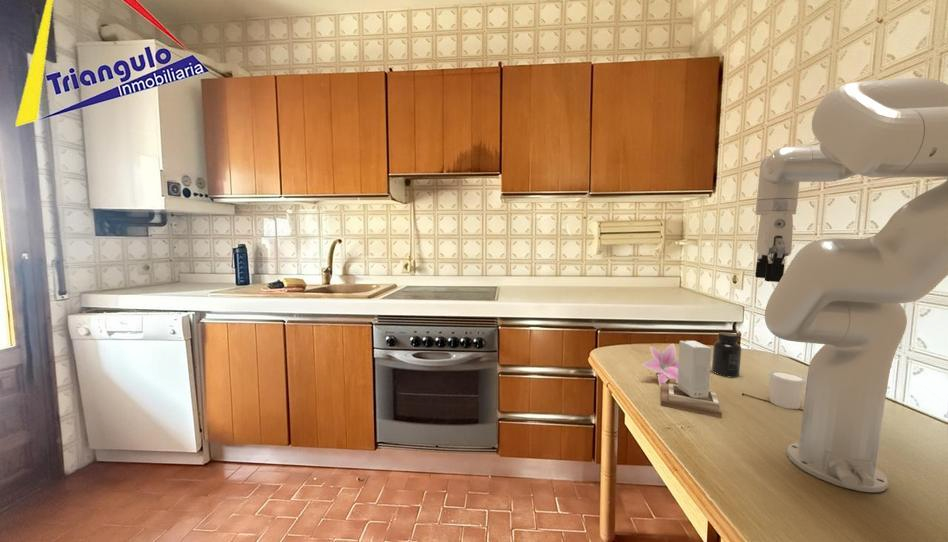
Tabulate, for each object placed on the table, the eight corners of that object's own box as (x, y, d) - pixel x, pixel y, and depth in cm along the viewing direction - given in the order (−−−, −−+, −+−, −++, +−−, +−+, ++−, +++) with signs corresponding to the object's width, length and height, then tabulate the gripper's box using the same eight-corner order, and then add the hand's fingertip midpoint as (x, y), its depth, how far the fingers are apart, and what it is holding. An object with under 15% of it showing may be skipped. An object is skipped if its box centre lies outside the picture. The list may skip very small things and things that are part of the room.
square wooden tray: (721, 418, 82) (722, 404, 82) (661, 405, 87) (662, 392, 87) (714, 396, 93) (715, 384, 93) (661, 386, 98) (662, 375, 98)
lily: (633, 383, 103) (647, 360, 97) (638, 357, 112) (651, 334, 106) (678, 404, 99) (695, 381, 94) (679, 375, 108) (695, 352, 103)
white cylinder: (810, 411, 86) (813, 383, 86) (776, 408, 88) (780, 380, 87) (791, 399, 93) (794, 372, 92) (760, 396, 94) (763, 369, 94)
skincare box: (709, 398, 85) (714, 347, 84) (690, 398, 85) (694, 347, 84) (692, 387, 92) (696, 340, 90) (675, 387, 91) (679, 339, 90)
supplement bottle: (738, 372, 111) (742, 333, 110) (739, 379, 105) (744, 338, 104) (711, 367, 115) (714, 329, 113) (711, 374, 109) (715, 334, 108)
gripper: (809, 204, 78) (799, 284, 80) (784, 210, 93) (777, 277, 95) (765, 205, 81) (757, 281, 83) (748, 210, 97) (742, 275, 98)
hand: (768, 279), depth 89 cm, fingers open, 9 cm apart
